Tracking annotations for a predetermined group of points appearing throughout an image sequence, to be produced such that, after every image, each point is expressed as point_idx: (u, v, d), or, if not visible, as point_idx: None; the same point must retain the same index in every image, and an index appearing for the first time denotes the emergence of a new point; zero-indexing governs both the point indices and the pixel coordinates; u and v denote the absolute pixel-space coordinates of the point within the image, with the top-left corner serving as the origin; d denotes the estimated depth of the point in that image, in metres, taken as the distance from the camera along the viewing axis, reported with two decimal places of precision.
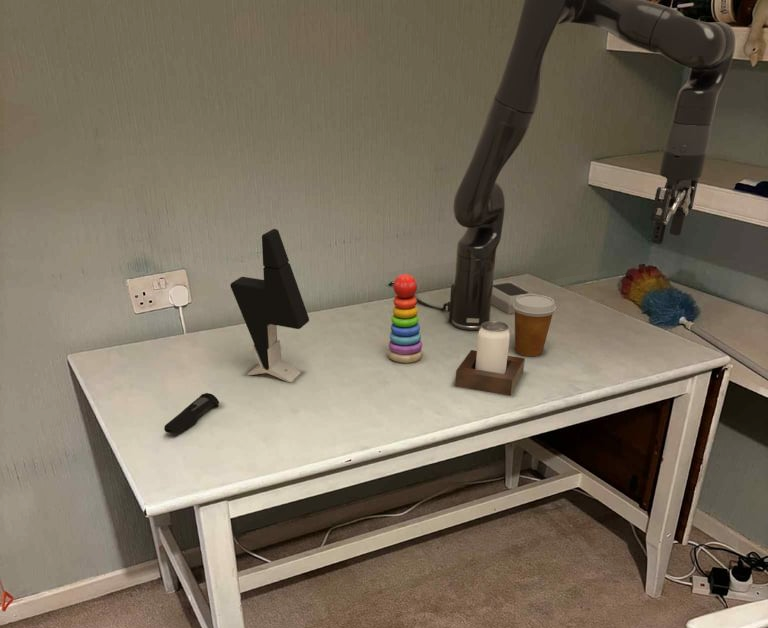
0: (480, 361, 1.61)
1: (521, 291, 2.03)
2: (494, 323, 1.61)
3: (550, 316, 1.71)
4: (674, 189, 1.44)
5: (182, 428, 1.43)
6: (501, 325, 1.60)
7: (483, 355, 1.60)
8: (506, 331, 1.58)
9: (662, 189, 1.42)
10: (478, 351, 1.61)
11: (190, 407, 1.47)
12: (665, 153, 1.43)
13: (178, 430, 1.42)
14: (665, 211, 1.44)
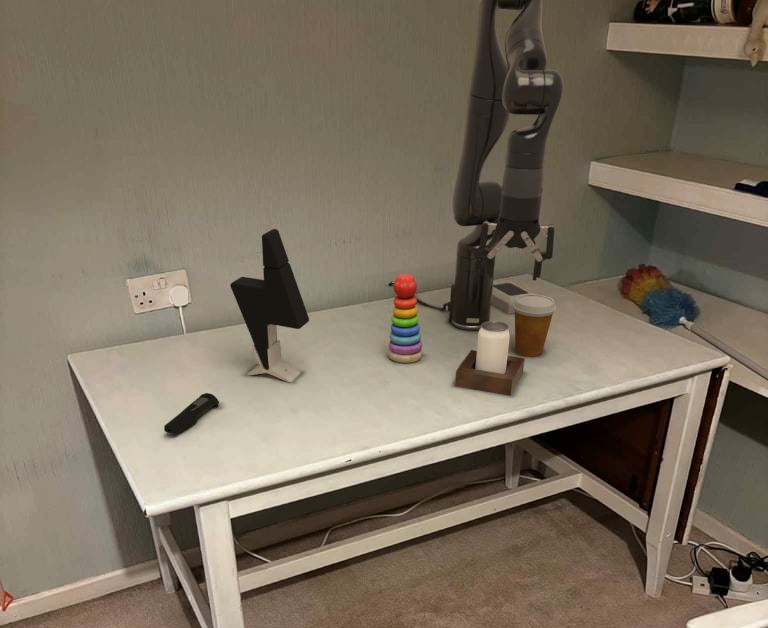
0: (480, 361, 1.61)
1: (521, 291, 2.03)
2: (494, 323, 1.61)
3: (550, 316, 1.71)
4: (497, 226, 1.48)
5: (182, 428, 1.43)
6: (501, 325, 1.60)
7: (483, 355, 1.60)
8: (506, 331, 1.58)
9: (483, 222, 1.49)
10: (478, 351, 1.61)
11: (190, 407, 1.47)
12: None
13: (178, 430, 1.42)
14: (482, 244, 1.50)
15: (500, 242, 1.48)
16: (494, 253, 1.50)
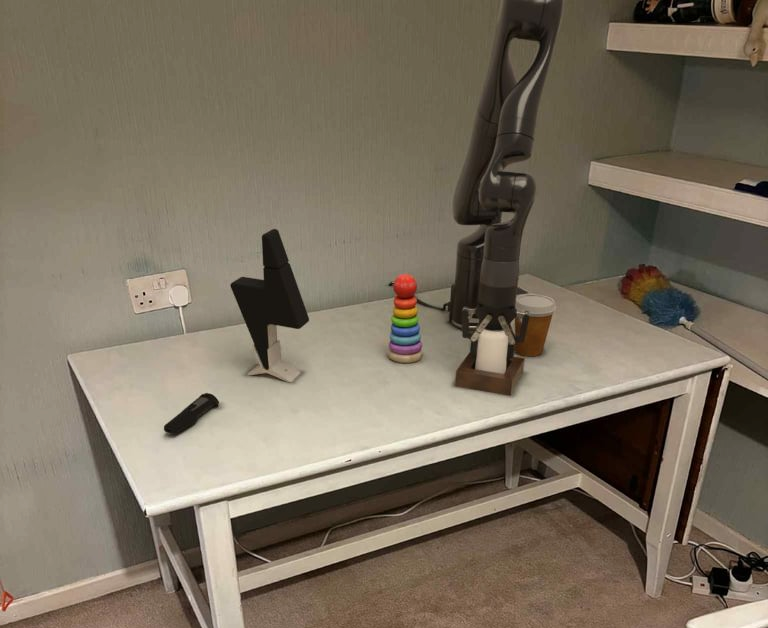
0: (480, 361, 1.61)
1: (521, 291, 2.03)
2: None
3: (550, 316, 1.71)
4: (476, 310, 1.57)
5: (182, 428, 1.43)
6: None
7: (483, 355, 1.60)
8: None
9: (463, 308, 1.58)
10: (478, 351, 1.61)
11: (190, 407, 1.47)
12: None
13: (178, 430, 1.42)
14: (464, 328, 1.59)
15: (480, 326, 1.58)
16: (477, 336, 1.60)
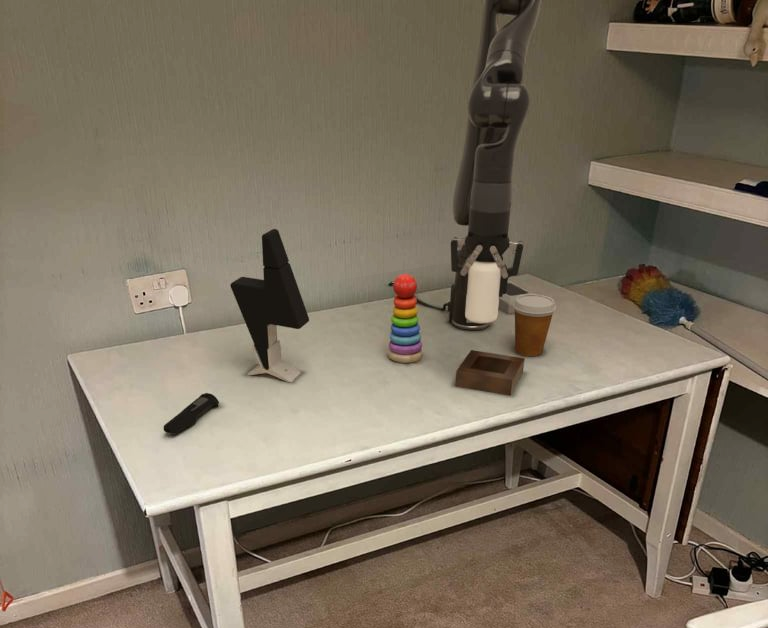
0: (470, 297, 1.50)
1: (521, 291, 2.03)
2: None
3: (550, 316, 1.71)
4: (466, 240, 1.46)
5: (181, 428, 1.43)
6: None
7: (474, 290, 1.49)
8: None
9: (452, 239, 1.47)
10: (468, 286, 1.50)
11: (190, 407, 1.47)
12: None
13: (177, 430, 1.43)
14: (453, 261, 1.48)
15: (470, 258, 1.47)
16: (467, 270, 1.48)
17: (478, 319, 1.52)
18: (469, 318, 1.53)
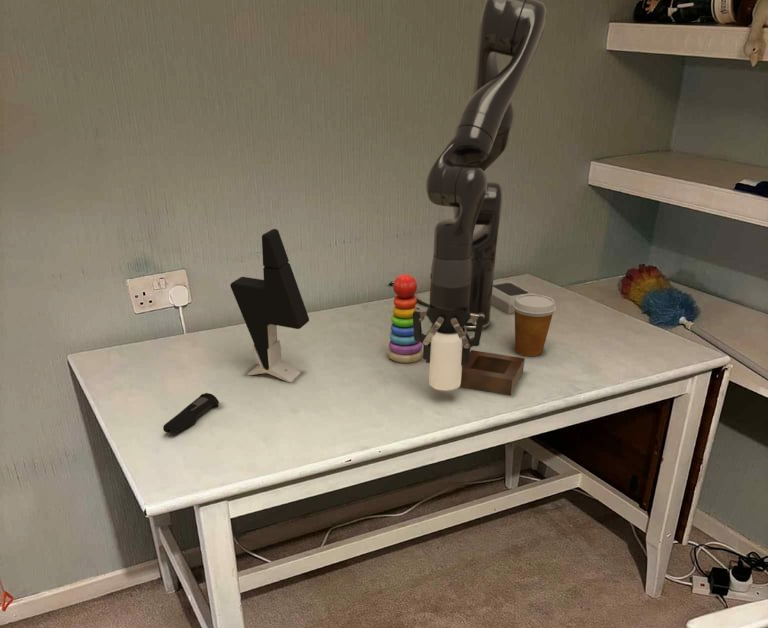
0: (433, 366, 1.52)
1: (521, 291, 2.03)
2: None
3: (550, 316, 1.71)
4: (428, 312, 1.47)
5: (181, 428, 1.43)
6: None
7: (436, 360, 1.51)
8: None
9: (414, 310, 1.49)
10: (431, 355, 1.52)
11: (189, 407, 1.47)
12: None
13: (177, 430, 1.43)
14: (416, 331, 1.50)
15: (432, 329, 1.48)
16: (429, 340, 1.50)
17: (441, 387, 1.53)
18: (432, 385, 1.54)
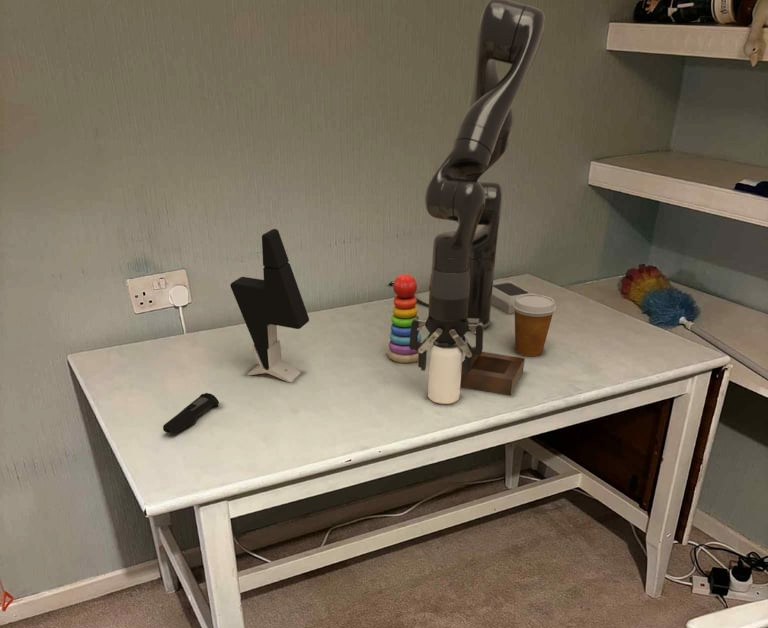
0: (432, 380, 1.54)
1: (521, 291, 2.03)
2: None
3: (550, 316, 1.71)
4: (426, 323, 1.49)
5: (181, 428, 1.43)
6: None
7: (435, 373, 1.52)
8: (459, 348, 1.50)
9: (413, 318, 1.50)
10: (430, 369, 1.53)
11: (189, 407, 1.47)
12: None
13: (177, 430, 1.43)
14: (412, 339, 1.51)
15: (430, 338, 1.49)
16: (424, 348, 1.51)
17: (440, 400, 1.55)
18: (431, 398, 1.56)
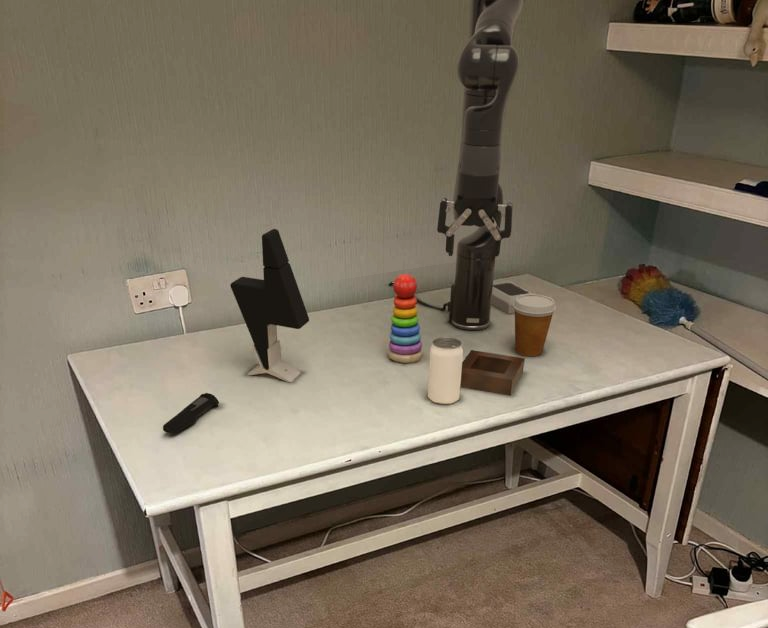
0: (432, 380, 1.54)
1: (521, 291, 2.03)
2: (447, 339, 1.53)
3: (550, 316, 1.71)
4: (455, 204, 1.47)
5: (181, 428, 1.43)
6: (454, 342, 1.52)
7: (435, 373, 1.52)
8: (459, 348, 1.50)
9: (442, 200, 1.48)
10: (430, 369, 1.53)
11: (189, 407, 1.47)
12: None
13: (177, 430, 1.43)
14: (440, 222, 1.49)
15: (458, 220, 1.48)
16: (453, 231, 1.50)
17: (440, 400, 1.55)
18: (431, 398, 1.56)
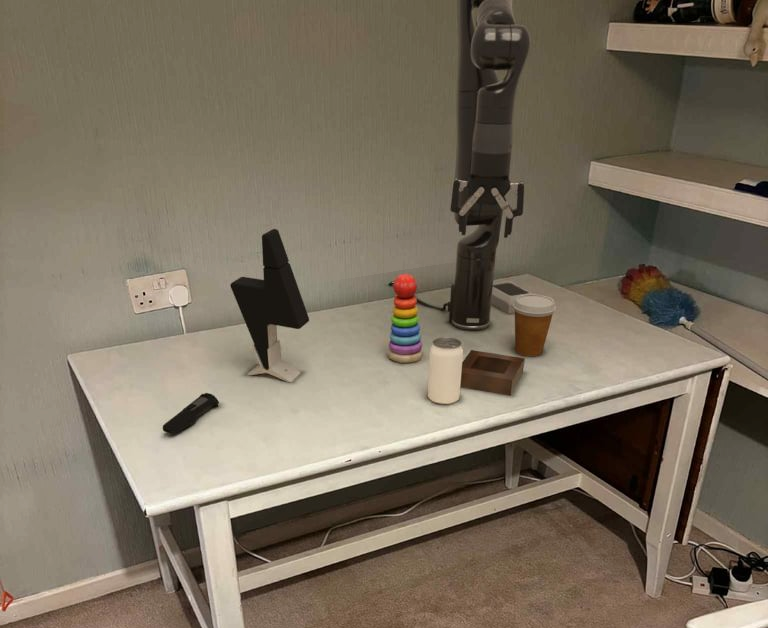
0: (432, 380, 1.54)
1: (521, 291, 2.03)
2: (447, 339, 1.53)
3: (550, 316, 1.71)
4: (468, 183, 1.50)
5: (180, 428, 1.43)
6: (454, 342, 1.52)
7: (435, 373, 1.52)
8: (459, 348, 1.50)
9: (455, 179, 1.51)
10: (430, 369, 1.53)
11: (189, 407, 1.47)
12: None
13: (176, 430, 1.43)
14: (453, 201, 1.52)
15: (471, 199, 1.51)
16: (466, 210, 1.53)
17: (440, 400, 1.55)
18: (431, 398, 1.56)
